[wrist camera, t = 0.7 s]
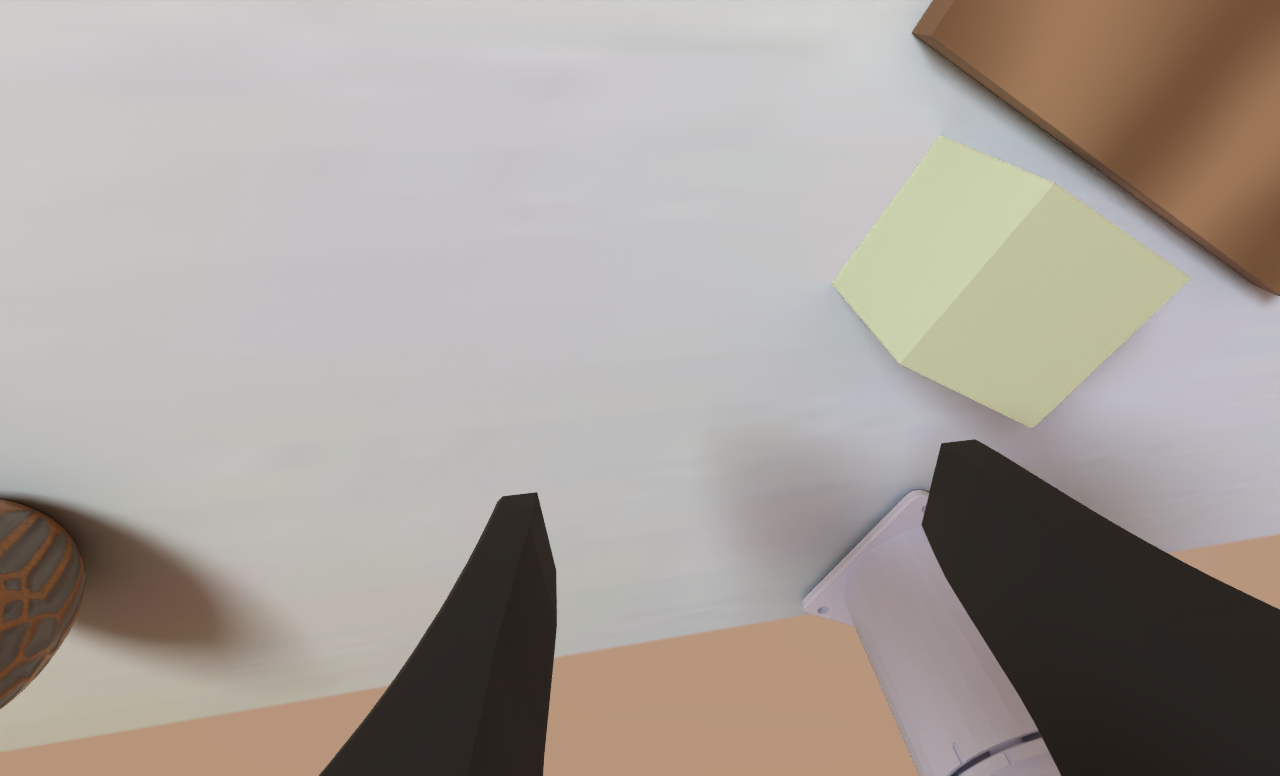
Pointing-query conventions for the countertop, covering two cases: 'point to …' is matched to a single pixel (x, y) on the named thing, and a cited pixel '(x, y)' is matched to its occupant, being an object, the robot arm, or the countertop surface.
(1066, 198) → the sage block
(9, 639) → the vase
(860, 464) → the countertop surface
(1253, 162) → the walnut board
